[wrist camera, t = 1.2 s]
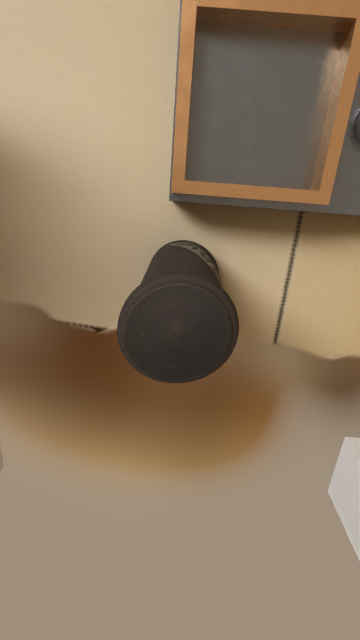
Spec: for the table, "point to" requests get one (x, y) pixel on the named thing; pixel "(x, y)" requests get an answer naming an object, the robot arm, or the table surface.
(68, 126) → the table surface
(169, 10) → the table surface
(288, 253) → the table surface
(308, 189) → the framed panel with knob
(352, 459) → the robot arm
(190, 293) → the container
